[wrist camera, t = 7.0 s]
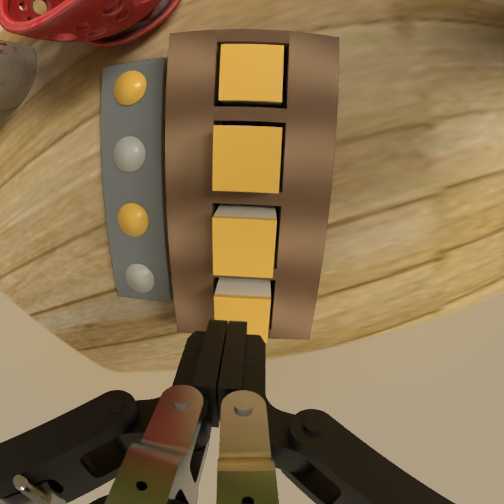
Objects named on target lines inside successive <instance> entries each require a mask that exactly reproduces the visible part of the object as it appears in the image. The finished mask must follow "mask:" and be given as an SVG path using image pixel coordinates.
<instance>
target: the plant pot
mask: <svg viewBox="0 0 504 504" xmlns="http://www.w3.org/2000/svg"><path fill="white" fill-rule="evenodd" d="M34 1H35V0H0V24H1V26H2V27H3V28H4V29H5V30H6V31H8V32H11V33H14V34H18V35H22V36H26V37H31V38H36V39H42V40H49V41H61V42H83V41H84V42H86V43H88V44H90V45H93V46H97V47H115V46H120V45H123V44H127V43H129V42H132V41H134V40H137V39H139V38H141V37H142V36H144V35H146V34H148V33H149V32H151V31H152V30H153V29H155V28H156V27H157V26H159V25H160V24H161V23H162V22H164V21H165V20H166V19H167V18H168V17H169V16H170V15H171V13H172V12H173V11H174V10H175V9H176V7H177V6H178V4H179V2H180V1H181V0H42V1H44V2H45V3H46V6H47V13H45V14H43V15H39V14H37V13H36V12H35V11H34V10H33V2H34ZM19 5H20V6H22V8H23V11H22V10H20V9H19Z"/></svg>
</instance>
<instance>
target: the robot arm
mask: <svg viewBox="0 0 504 504" xmlns="http://www.w3.org/2000/svg"><path fill="white" fill-rule="evenodd" d="M219 420H220V444H219V459H218V466H217V500H216V504H279V499H278V490H277V480H276V470H275V468H279V469H281V471H282V472H283V473H284V474H285V475H286V476H287V477H288V478H289V479H290V480H291V481H292V482H293V483H294V484H295V485H296V486H297V487H298V488H299V489H300V490H301V491H302V492H304V493H305V494H306V495H307V496H308V497H309V498H310V499H311V500H312V501H314V502H315V503H316V504H455V503H453V502H451V501H450V500H448V499H446V498H445V497H443V496H441V495H440V494H438V493H437V492H435V491H434V490H432V489H430V488H428V487H427V486H426V485H424V484H423V483H421V482H420V481H418V480H417V479H415V478H413V477H412V476H410V475H409V474H408V473H406V472H404V471H403V470H402V469H400V468H399V467H397V466H396V465H395V464H393V463H392V462H390V461H389V460H388V459H386V458H385V457H383V456H382V455H381V454H379V453H378V452H376V451H375V450H374V449H372V448H371V447H370V446H368V445H367V444H366V443H364V442H363V441H362V440H360V439H359V438H358V437H356V436H355V435H354V434H352V433H351V432H350V431H349V430H347V429H346V428H344V426H342V425H341V424H340V423H338V422H337V421H336V420H335V419H333V418H332V417H331V416H330V415H328V414H327V413H325V412H323V411H320V410H316V409H307V410H303V411H300V412H298V413H297V414H296V415H294V414H290V413H286V412H283V411H280V410H278V409H276V408H274V407H273V406H272V405H271V404H270V403H269V402H268V400H267V398H266V395H265V342H264V341H263V339H262V337H261V336H260V335H251V334H247V322H245V321H229V323H228V321H227V320H213V319H210V320H209V322H208V326H207V330H206V332H205V331H195V332H194V333H193V334H192V335H191V336H190V337H189V338H188V339H187V342H186V345H185V350H184V351H183V354H182V357H181V360H180V363H179V367H178V370H177V373H176V376H175V379H174V382H173V385H172V387H170V388H168V389H166V390H165V391H164V392H163V393H162V395H161V397H159V398H156V399H150V400H138V401H135V399H134V398H133V396H132V395H131V394H129V393H127V392H125V391H121V390H113V391H109V392H106V393H104V394H102V395H101V396H99V397H97V398H95V399H93V400H91V401H89V402H87V403H85V404H83V405H81V406H79V407H77V408H75V409H73V410H71V411H69V412H67V413H65V414H63V415H61V416H59V417H57V418H55V419H53V420H51V421H48V422H46V423H44V424H42V425H40V426H38V427H36V428H34V429H31V430H29V431H27V432H25V433H23V434H21V435H18V436H16V437H14V438H11V439H9V440H7V441H4V442H2V443H0V504H66V503H68V502H70V501H72V500H74V499H76V498H78V497H80V496H82V495H84V494H86V493H88V492H90V491H92V490H94V489H96V488H98V487H99V486H101V485H103V484H105V483H107V482H109V481H110V480H112V479H114V478H115V481H114V483H113V485H112V487H111V490H110V492H109V494H108V495H106V496H104V497H101V498H99V499H97V500H95V501H93V502H91V503H90V504H197V499H198V486H199V482H200V478H201V474H202V470H203V466H204V462H205V458H206V454H207V450H208V447H209V438H210V433H211V427H219Z"/></svg>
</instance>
